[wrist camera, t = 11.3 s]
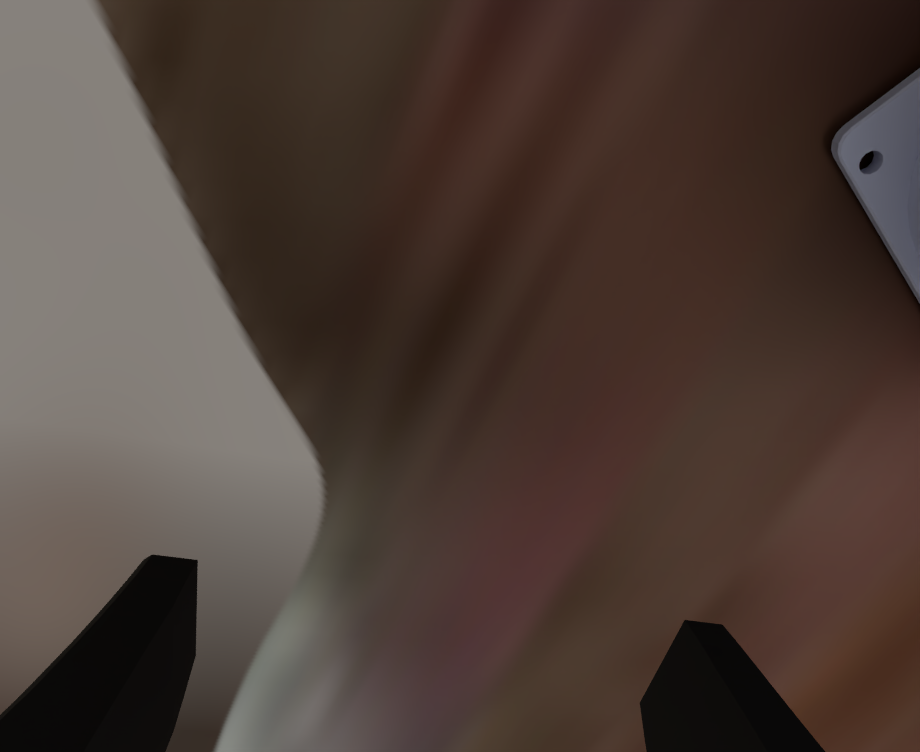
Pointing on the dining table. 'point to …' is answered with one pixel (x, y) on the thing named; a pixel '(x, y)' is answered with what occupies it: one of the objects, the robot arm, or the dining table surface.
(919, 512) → the dining table surface
